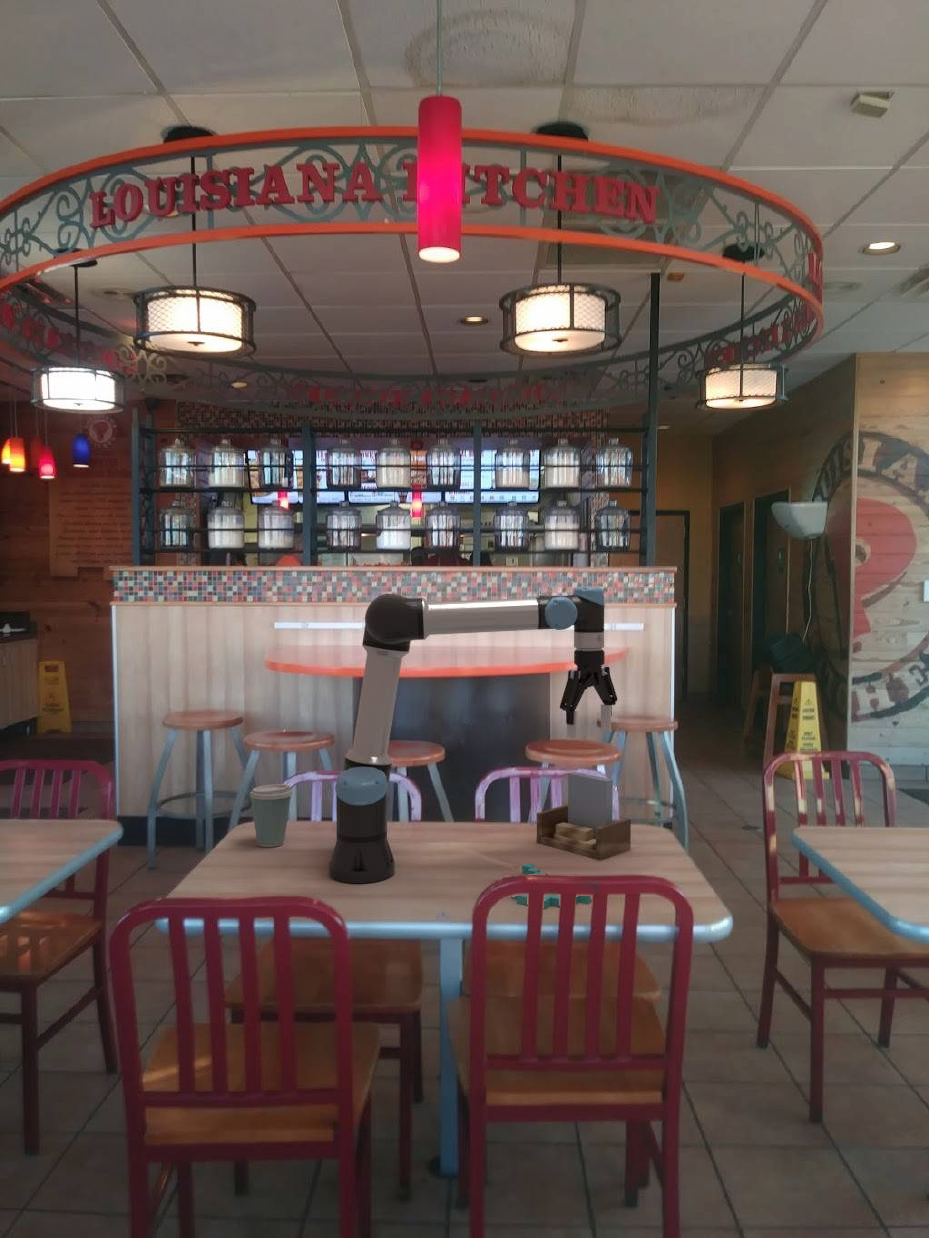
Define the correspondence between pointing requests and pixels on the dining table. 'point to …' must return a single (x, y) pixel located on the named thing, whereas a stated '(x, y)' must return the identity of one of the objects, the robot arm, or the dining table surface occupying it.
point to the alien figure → (549, 899)
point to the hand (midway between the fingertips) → (589, 734)
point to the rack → (607, 837)
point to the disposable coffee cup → (270, 813)
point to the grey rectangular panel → (589, 800)
